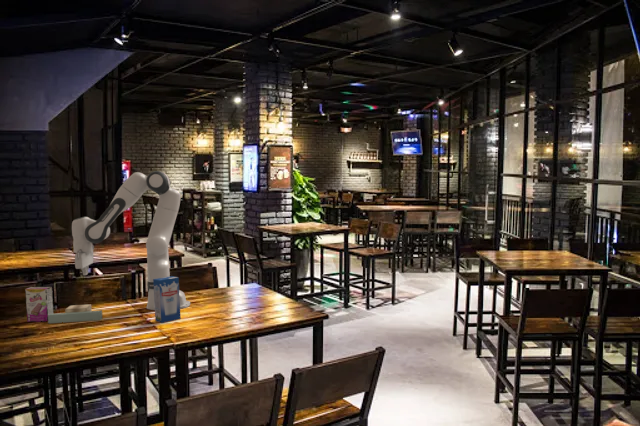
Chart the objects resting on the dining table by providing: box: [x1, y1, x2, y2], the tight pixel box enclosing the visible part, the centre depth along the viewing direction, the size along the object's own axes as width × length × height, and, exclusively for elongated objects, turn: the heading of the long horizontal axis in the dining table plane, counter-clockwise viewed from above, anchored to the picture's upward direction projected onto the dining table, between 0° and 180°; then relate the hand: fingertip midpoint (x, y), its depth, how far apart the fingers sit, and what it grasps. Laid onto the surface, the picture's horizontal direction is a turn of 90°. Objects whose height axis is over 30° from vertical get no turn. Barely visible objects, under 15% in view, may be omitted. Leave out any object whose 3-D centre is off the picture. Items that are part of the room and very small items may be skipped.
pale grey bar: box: [47, 310, 103, 324], centre depth 261 cm, size 24×3×4 cm, turn 98°
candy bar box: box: [24, 286, 54, 323], centre depth 263 cm, size 11×5×16 cm, turn 84°
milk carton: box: [153, 275, 182, 324], centre depth 256 cm, size 10×6×20 cm, turn 134°
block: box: [64, 304, 93, 313], centre depth 266 cm, size 10×8×6 cm
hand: (85, 274), depth 279 cm, fingers closed
